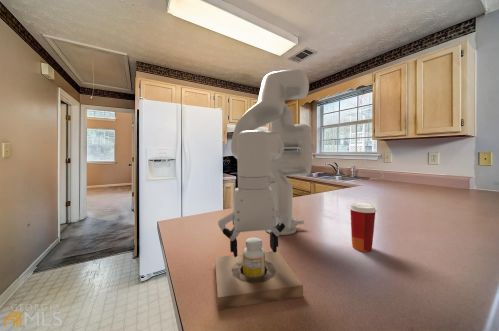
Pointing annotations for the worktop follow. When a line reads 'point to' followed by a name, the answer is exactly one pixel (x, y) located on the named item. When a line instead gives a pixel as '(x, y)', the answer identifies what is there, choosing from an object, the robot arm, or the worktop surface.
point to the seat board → (254, 282)
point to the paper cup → (362, 226)
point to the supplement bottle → (253, 258)
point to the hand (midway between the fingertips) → (254, 252)
